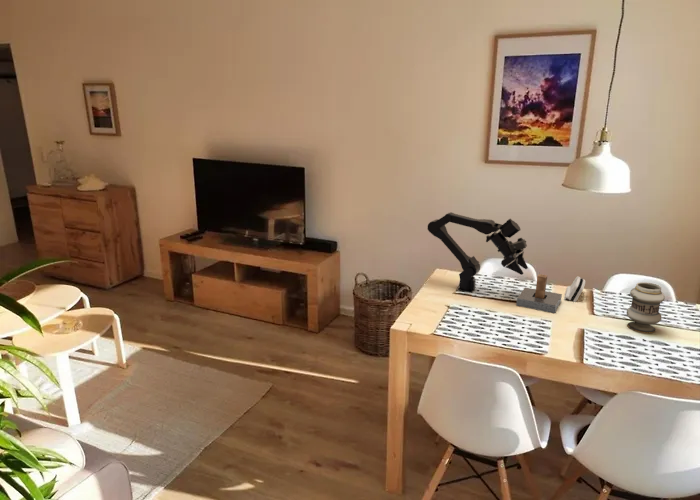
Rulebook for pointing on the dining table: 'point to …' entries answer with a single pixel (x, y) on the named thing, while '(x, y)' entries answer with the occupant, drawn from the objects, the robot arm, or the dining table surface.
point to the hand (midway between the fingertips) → (524, 271)
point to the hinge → (575, 289)
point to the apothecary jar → (645, 307)
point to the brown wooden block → (541, 286)
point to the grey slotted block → (539, 300)
